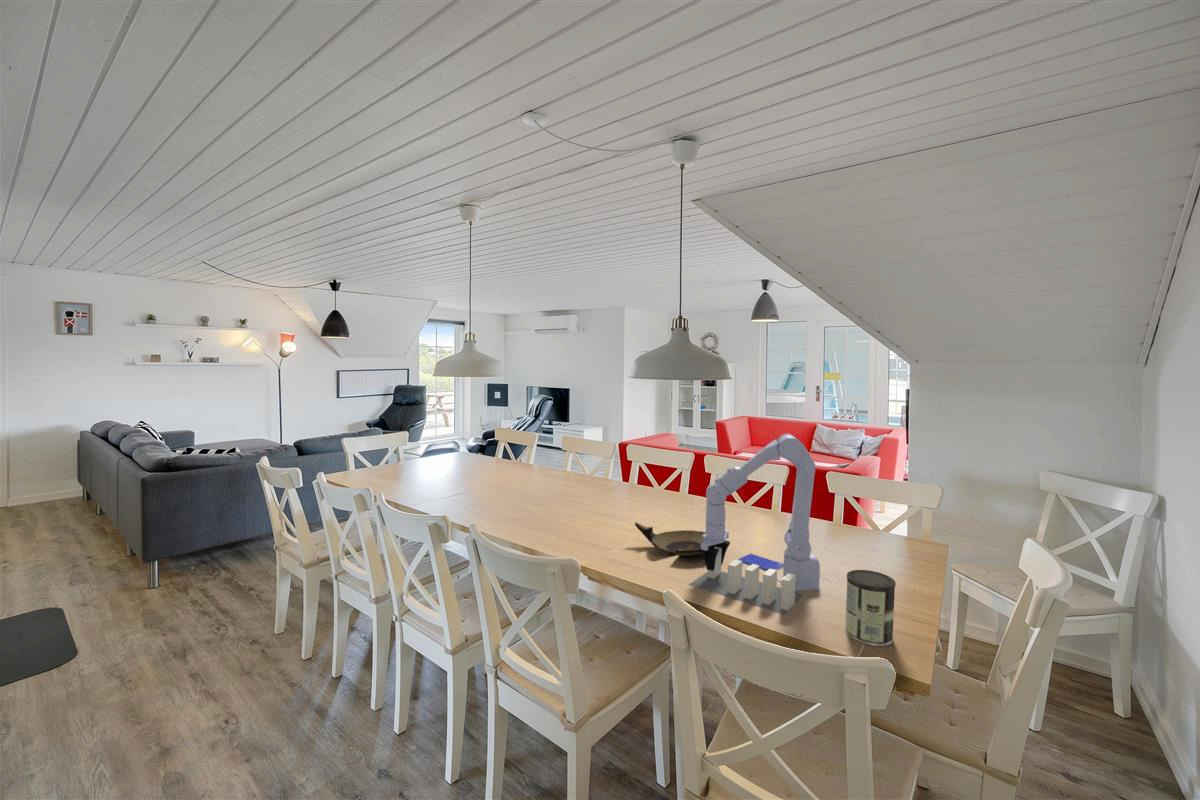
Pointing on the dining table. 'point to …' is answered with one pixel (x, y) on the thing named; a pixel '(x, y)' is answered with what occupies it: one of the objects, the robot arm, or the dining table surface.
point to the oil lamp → (675, 540)
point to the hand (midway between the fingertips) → (714, 566)
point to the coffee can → (870, 607)
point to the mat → (740, 591)
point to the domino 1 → (716, 565)
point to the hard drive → (761, 562)
